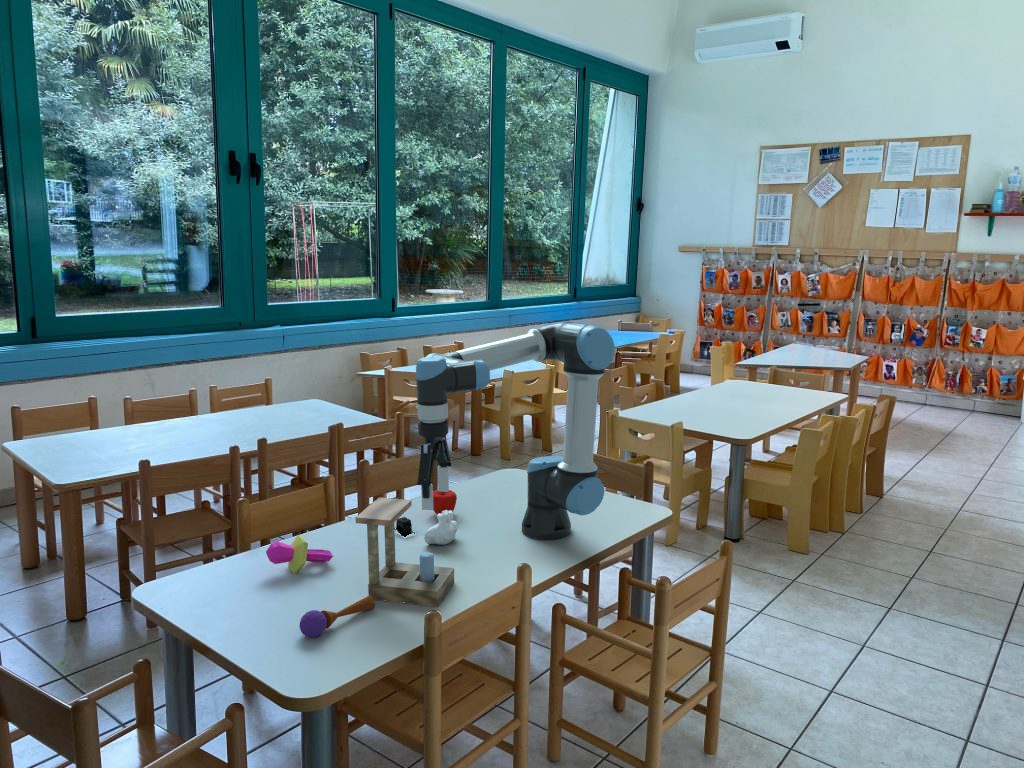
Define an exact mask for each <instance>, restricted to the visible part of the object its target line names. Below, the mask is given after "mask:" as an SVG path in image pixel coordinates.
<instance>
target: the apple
mask: <svg viewBox="0 0 1024 768" xmlns="http://www.w3.org/2000/svg"><path fill="white" fill-rule="evenodd" d="M457 500H458V497H457V493H456V492H455V491H453V490H451V489H449V491H448V492H443V491H438V489H436V490H433V510H432V511H433V512H434V513H435V514H436V516H437V515H438V514H439V513H440V514H441V513H442V511H445V510H447V511H450V510H452V511H453V512H454V510H455V509H456V508H455V507H456V504H457Z"/></svg>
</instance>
